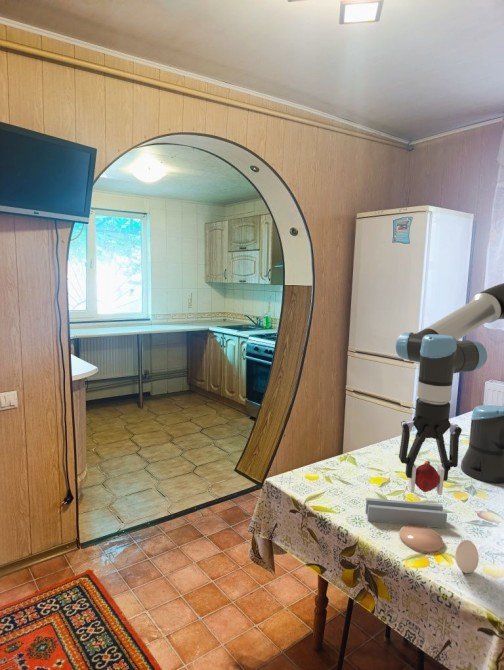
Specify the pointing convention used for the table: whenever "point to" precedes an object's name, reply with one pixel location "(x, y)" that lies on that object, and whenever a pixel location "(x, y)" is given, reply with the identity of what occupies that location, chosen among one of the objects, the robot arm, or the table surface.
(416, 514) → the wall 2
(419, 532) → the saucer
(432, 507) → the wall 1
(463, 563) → the egg
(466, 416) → the table surface
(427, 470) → the onion
